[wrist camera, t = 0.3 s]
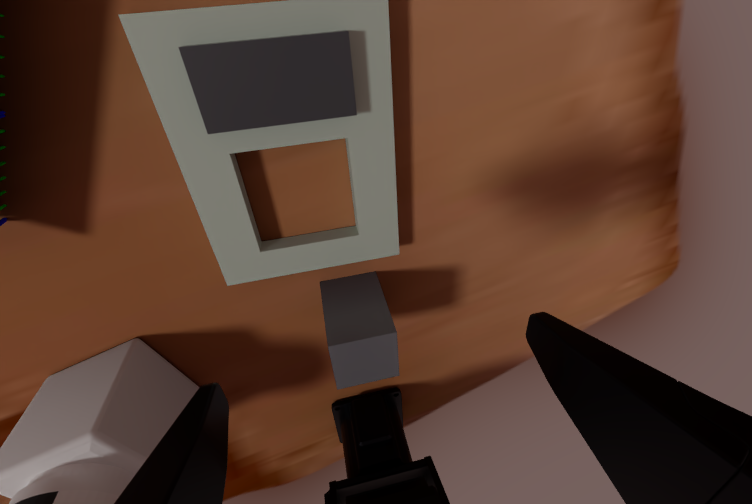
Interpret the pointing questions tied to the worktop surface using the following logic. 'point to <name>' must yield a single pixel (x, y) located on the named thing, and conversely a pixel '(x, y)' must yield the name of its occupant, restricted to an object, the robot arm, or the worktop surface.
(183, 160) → the plate
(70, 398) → the medicine bottle
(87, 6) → the worktop surface
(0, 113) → the house
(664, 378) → the robot arm
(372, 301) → the block
